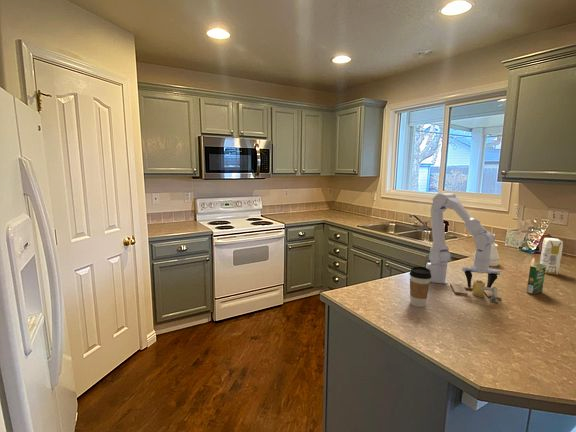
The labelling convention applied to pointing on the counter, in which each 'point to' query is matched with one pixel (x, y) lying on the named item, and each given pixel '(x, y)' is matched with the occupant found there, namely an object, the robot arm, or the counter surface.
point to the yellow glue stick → (478, 288)
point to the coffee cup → (419, 285)
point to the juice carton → (551, 255)
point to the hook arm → (494, 292)
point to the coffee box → (536, 279)
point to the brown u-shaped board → (461, 290)
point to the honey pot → (493, 255)
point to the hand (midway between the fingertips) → (478, 288)
